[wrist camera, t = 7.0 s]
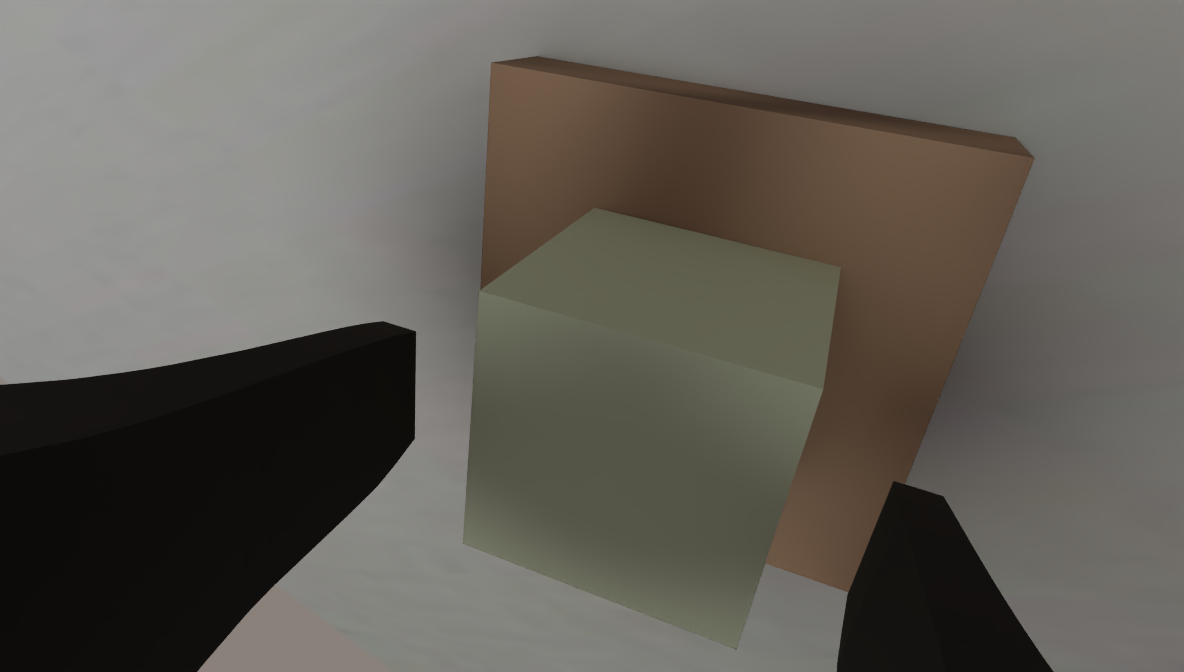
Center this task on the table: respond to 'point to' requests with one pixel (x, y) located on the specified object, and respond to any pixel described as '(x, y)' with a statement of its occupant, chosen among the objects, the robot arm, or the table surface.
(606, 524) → the sage cube
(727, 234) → the walnut base block
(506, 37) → the table surface
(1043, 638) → the table surface
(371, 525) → the table surface
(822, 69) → the table surface
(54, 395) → the robot arm
